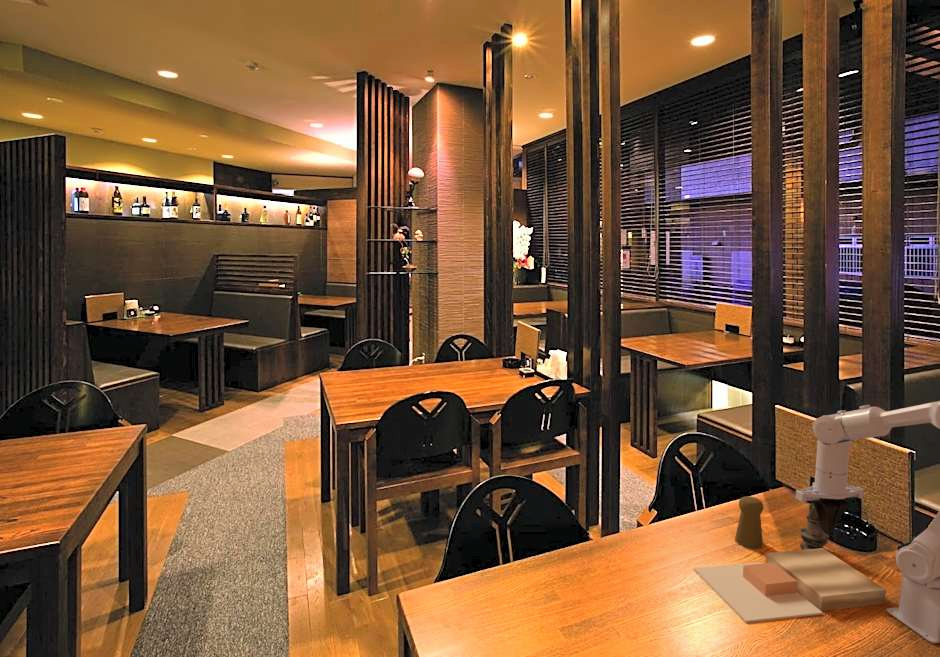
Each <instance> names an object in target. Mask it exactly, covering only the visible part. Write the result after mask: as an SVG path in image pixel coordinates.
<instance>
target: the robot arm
mask: <svg viewBox="0 0 940 657" xmlns="http://www.w3.org/2000/svg"><path fill="white" fill-rule="evenodd" d="M923 424H932V425H933V426H934V427H936V428H937V429H939V430H940V400H938V401H932V402H928V403H927V402H926V403H923V404H919V405H912V406H908V407H903V408H899V409H898V408H897V409H893V410H887V411H886V410H884V409H882V408H881V407H879V406H871V405H870V404H865V405H861V406H859V409H854V410H850V411H847V410H845V409H844V410H838V411H837V413H833V414H827V415H822V416H820V417H818V418H816V419H814V421H813V423H812V433H813V435H814V436H815V438H816V439H817V443H816V444H817V446H816V458H815V459H816V460H815V461H816V462H815V475H814V482H812V485H811V486H808V487H805V488H802V489H796V490H795V500H797V501H799V502H800V503H807V502H808V501H810V502H812V503H813V505H814V507H815V509H816V511H817V514H818V518H819V522H820V527H821V529H822V530H823V532H824V533H826V534H827V533H828V534H830V533H831V534H832V533H834V531H835V529H836V527H837V524H838V522H839V520H840V518H841V517H842V516H843V514H844V512H845V511H846V510H848V509H849V506H850V505H849V504H850V502H848V501H847V500H845V499H847V498H848V499H849V498H857V499H864V493H865V492H864V491H865V489H864V488H862V487H860V486H857V485H848V475H849V461H850V449H851V446H852V441H854V440H856V441H857V440H863V439H870V438H878V437H884V436H888V435H889V433H890V432H891V430H892V428H897V427H898V428H899V427H905V426H913V425H914V426H915V425H923ZM895 562H896V565H897V567H898V569H899V570H900V572H901V573H902V574H901V583H900V592H899V605H898V606H896V607H895V606H894V607H887V608H886V610H885V612H887V613H888V614H890V615H891V616H893V617H894V618H895V619H897V620H898V621H900V622H901V623H902V624H904V625H906V627H908V628H910V629H911V630H913V631H914V632H915V633H917V634H918V635H919V636H920V637H922V638H924V639H925V640H927V642H929V643H931V644H940V510H939V511H938V512H937V513H936V515H935V517H934V518H933V519H932V520H931V522H930V523H929V525H928V527H927V528H926V529H925V530H924V531H922V532H921V533H920V534H918V535H917V536H916V537H915V538H914V539H913V540H912V541H911V542H910V544H908V545H906V546H903V547H901V548H899V549H898V550H897V552H896V554H895Z"/></svg>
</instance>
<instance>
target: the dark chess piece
mask: <svg viewBox="0 0 940 657" xmlns="http://www.w3.org/2000/svg"><path fill="white" fill-rule="evenodd" d="M806 519H807V524H806V527H805V528H801V529H800V530H799V534H800V536H801V539H802V541H803V542H801V543H800V544H799V545H800V546H799V547H800V549H801V550H807V549H818V548H824V549H825V550H827V549H826V548H825V547H824V546H826V544H827V542H828V540H829V539H830V536H829V534H827V532H825V531H824V530H822V529H821V527H820V522H819V518H818V514H817V511H816V509H815V507H814V505H813V503H809V505H808V515H806Z"/></svg>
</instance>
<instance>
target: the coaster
mask: <svg viewBox="0 0 940 657" xmlns="http://www.w3.org/2000/svg"><path fill="white" fill-rule="evenodd" d="M743 577H744V578H745V579H746V580H747V581H749V582H750V583H751V584H752V585H753V586H754V587H755V588H757V589H758V590H759V591H760V592H761V593H762V594H763V595H764V596H770V595H779V594H789V593H796V592H797V581H796V580H795V579H794V578H793V577H791V576H790V575H789V574H787V573H786V572H785V571H784V570H782V569H781V568H780V567H778V566H777V565H776V564H775V563H766V562H765V563H762V564H753V565H743Z"/></svg>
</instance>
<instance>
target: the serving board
mask: <svg viewBox="0 0 940 657" xmlns="http://www.w3.org/2000/svg"><path fill="white" fill-rule="evenodd" d="M824 548H825V547H824ZM824 548H818V549H807V550H803V549H798V550H797V549H796V550H787V551H785V550H784V551H778V552H777V551H776V552H767V553H765V563H775V564H776V565H777V566H778V567H780V568H781V569H782V570H784V571H785V572H786V573H787V574H789V575H790V576H791V577H793V578H794V579H795V580H796V581H797V592H798V593H799V594H800V595H802V596H803V597H804V598H805V599H807V600H808V601H809V602H810V603H812V604H813V605H814V606H815V607H817V608H818V609H819V610H820V611H821V612H823V611H833V610H841V609H851V608H859V607H868V606H869V607H870V606H879V605H885V604H886V593H887V589H885V588H884V587H883V586H881V585H879V584H878V583H877V582H875V581H874V580H872V579H870V578H869V577H868V576H866V575H865V574H863V573H862V572H860V571H858V570H857V569H855V568H854V567H853V566H851V565H849V564H848V563H846V562H845V561H844V560H842V559H841V558H838V557H837V556H836V555H834V554H833V553H832V552H830V551H828V550H827V549H826V548H825V549H826V550H825V549H824Z"/></svg>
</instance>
